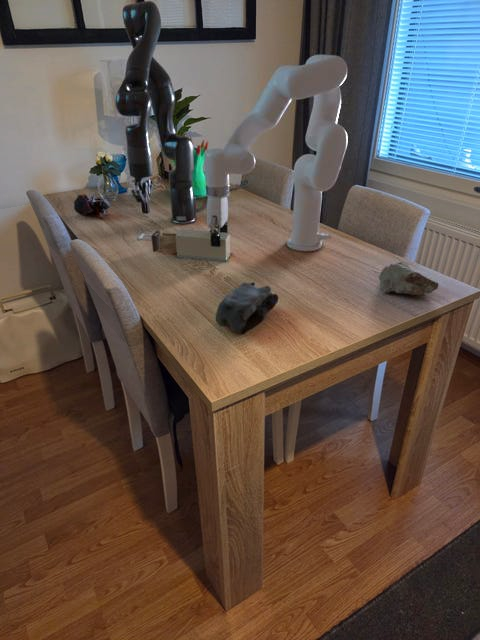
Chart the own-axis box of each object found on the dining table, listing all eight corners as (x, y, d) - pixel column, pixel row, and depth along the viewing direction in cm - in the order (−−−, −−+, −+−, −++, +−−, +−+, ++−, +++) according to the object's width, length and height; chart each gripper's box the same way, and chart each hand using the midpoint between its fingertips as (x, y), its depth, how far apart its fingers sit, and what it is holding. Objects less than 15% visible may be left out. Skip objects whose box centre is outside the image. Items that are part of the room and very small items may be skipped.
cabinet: (177, 256, 154) (175, 235, 149) (182, 249, 159) (181, 229, 155) (226, 261, 150) (225, 239, 146) (230, 254, 156) (230, 233, 152)
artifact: (399, 307, 125) (440, 299, 130) (406, 284, 121) (449, 278, 126) (362, 275, 139) (401, 270, 144) (368, 254, 135) (408, 249, 140)
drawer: (137, 250, 156) (135, 234, 153) (143, 244, 160) (141, 229, 157) (197, 255, 152) (196, 239, 149) (201, 249, 157) (201, 233, 153)
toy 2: (167, 190, 223) (163, 137, 210) (207, 188, 227) (205, 135, 214) (172, 202, 206) (167, 145, 193) (214, 199, 210) (213, 143, 197)
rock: (249, 344, 108) (249, 316, 104) (210, 332, 113) (209, 305, 109) (280, 311, 122) (281, 285, 118) (243, 301, 127) (244, 276, 123)
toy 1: (101, 187, 180) (72, 186, 186) (93, 207, 178) (64, 205, 183) (117, 205, 191) (89, 203, 196) (109, 223, 188) (82, 221, 194)
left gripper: (137, 155, 148) (143, 206, 158) (120, 164, 138) (127, 218, 147) (158, 156, 147) (163, 207, 156) (142, 165, 136) (148, 220, 145)
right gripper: (213, 182, 150) (215, 231, 159) (198, 197, 135) (201, 249, 144) (235, 183, 148) (236, 232, 157) (222, 199, 134) (223, 251, 143)
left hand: (145, 212), depth 151 cm, fingers closed
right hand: (219, 240), depth 151 cm, fingers open, 9 cm apart
